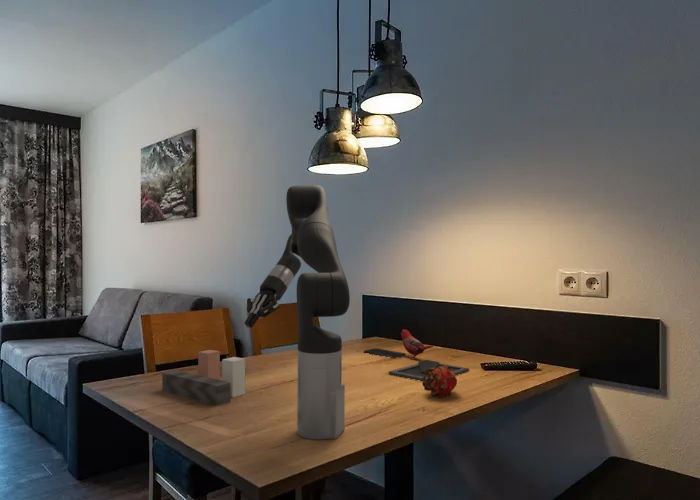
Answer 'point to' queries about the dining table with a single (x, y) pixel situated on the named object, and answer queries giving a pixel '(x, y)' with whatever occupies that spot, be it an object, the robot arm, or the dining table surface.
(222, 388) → the switch board
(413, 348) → the decorative bird figurine
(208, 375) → the brick key
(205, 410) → the dining table surface
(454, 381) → the dragon fruit
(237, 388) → the cream key
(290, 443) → the dining table surface
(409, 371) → the picture frame
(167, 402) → the dining table surface
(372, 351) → the phone
